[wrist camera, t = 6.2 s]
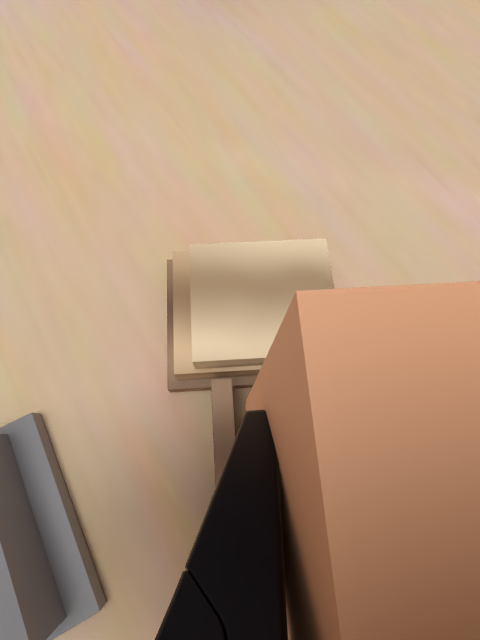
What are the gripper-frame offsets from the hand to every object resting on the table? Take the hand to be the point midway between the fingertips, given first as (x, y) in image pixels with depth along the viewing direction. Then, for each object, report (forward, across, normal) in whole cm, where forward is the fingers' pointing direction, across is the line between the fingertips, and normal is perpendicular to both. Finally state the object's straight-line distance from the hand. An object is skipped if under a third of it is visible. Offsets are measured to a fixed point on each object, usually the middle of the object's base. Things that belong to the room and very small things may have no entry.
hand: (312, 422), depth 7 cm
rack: (+12, 0, +7) cm, 14 cm away
